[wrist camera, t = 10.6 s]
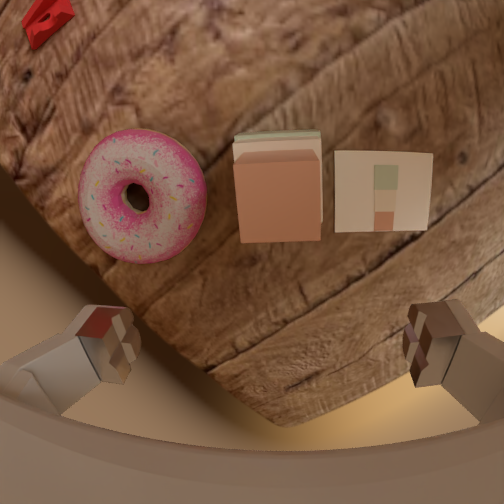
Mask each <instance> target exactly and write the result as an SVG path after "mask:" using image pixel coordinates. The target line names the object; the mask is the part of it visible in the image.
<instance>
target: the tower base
mask: <svg viewBox="0 0 504 504" xmlns="http://www.w3.org/2000/svg"><path fill="white" fill-rule="evenodd" d="M234 140H235V142H234V143H233V144H232V145H233V155H234V163H235V162H236V161H237V159H238V158H239V157H240V156H241V155H242V154H243V153H244V152H258V151H275V150H300V149H313V151H314V152H315V154H316V155H317V157H318V159H319V160H320V192H321V222H323V188H322V152H321V132H320V131H319V130H317V129H304V130H278V131H261V132H247V133H239V134H237V135H235V136H234Z"/></svg>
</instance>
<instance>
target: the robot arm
mask: <svg viewBox="0 0 504 504" xmlns="http://www.w3.org/2000/svg"><path fill="white" fill-rule="evenodd" d="M408 318H409V321H410V323H409V324H408V325H407V326H406V327H405V329H404V334H403V346H402V347H403V353H404V356H405V359H406V360H407V361H408V362H410V363H411V368H410V374H411V377H412V380H413V383H414V386H415V388H416V387H425V386H433V385H440V384H442V385H441V386H443V388H444V389H446V390H447V391H448V392H449V393H450V394H451V395H452V396H453V397H454V398H455V399H456V400H457V401H458V402H459V403H460V404H462V405H463V406H464V407H465V408H466V409H467V410H468V411H469V412H470V413H471V414H472V415H473V416H474V417H475V418H476V419H477V420H478V421H480V423H479V424H478V425H477V426H474V427H470V428H467V429H463V430H459V431H454V432H451V433H446V434H442V435H437V436H433V437H427V438H422V439H417V440H411V441H406V442H400V443H393V444H385V445H378V446H371V447H360V448H349V449H336V450H319V451H257V450H256V451H255V450H238V449H225V448H213V447H204V446H196V445H188V444H181V443H174V442H167V441H162V440H156V439H150V438H145V437H140V436H135V435H130V434H126V433H121V432H117V431H113V430H109V429H105V428H100V427H96V426H93V425H89V424H86V423H82V422H78V421H76V420H72V419H69V418H66V417H62V416H61V414H62V413H63V412H64V411H66V410H67V409H68V408H70V407H71V406H72V405H73V404H75V403H76V402H77V401H78V400H80V399H81V398H82V397H83V396H85V395H86V394H87V393H88V392H90V391H91V390H92V389H93V388H95V387H96V386H97V385H98V384H99V383H101V382H100V381H102V382H109V383H116V384H124V383H125V381H126V379H127V377H128V375H129V373H130V371H131V366H130V363H132V362H133V361H135V360H136V359H137V358H138V355H139V353H140V348H141V338H140V334H139V331H138V330H137V329H136V328H135V327H134V326H133V325H132V323H133V320H134V317H133V314H132V312H131V310H130V309H129V308H127V307H116V306H104V305H101V306H100V305H86V306H84V307H83V309H82V310H81V311H80V312H79V314H78V315H77V316H76V317H75V318H74V319H73V321H72V322H71V323H70V324H69V326H68V327H67V328H66V329H65V331H64V332H63V333H62V334H56V335H54V336H53V337H51V338H49V339H47V340H45V341H43V342H41V343H39V344H37V345H35V346H34V347H32V348H30V349H28V350H26V351H24V352H22V353H20V354H18V355H16V356H15V357H13V358H11V359H9V360H7V361H5V362H3V364H2V365H1V366H0V504H504V342H502V341H501V340H499V339H497V338H495V337H494V336H492V335H490V334H488V333H487V332H480V330H479V328H478V327H477V325H476V324H475V322H474V320H473V319H472V317H471V316H470V314H469V313H468V311H467V310H466V308H465V307H464V306H463V304H462V303H461V301H460V300H458V299H452V300H444V301H439V302H429V303H417V304H411V306H410V308H409V312H408Z"/></svg>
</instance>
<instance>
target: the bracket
mask: <svg viewBox="0 0 504 504" xmlns="http://www.w3.org/2000/svg"><path fill="white" fill-rule="evenodd" d="M49 15H50V18H49V19H48V20H47V21H44V20H45V19H46V18H47V17H48V16H49ZM74 16H75V14H74V11H73V9H72V6H71V3H70V1H69V0H36V1H35V2H34V4H33V5H32V6H31V8H30V9H29V11H28V12H27V14H26V15H25V17H24V18H23V20H22V21H21V22H22V25H23V28H24V29H26V32H27V35H28V38H29V42H30V45H31V48H32V49H35V50H36V49H37V48H38V47H39V46H40V45H41V44H42V43H43V42H44V41H46V40H47V39H48V38H49V37H50V36H51V35H52V34H53V33H54V32H56V31H57V30H58V29H59V28H60V27H61V26H63V25H64V24H65V23H66V22H67V21H69V20H70V19H71V18H72V17H74ZM43 21H44V22H43Z"/></svg>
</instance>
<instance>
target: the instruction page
mask: <svg viewBox="0 0 504 504" xmlns="http://www.w3.org/2000/svg"><path fill="white" fill-rule="evenodd" d="M334 162H335V232H372V231H423V230H427V226H428V218H429V208H430V198H431V186H432V170H433V153H420V152H399V151H359V150H334Z"/></svg>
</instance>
